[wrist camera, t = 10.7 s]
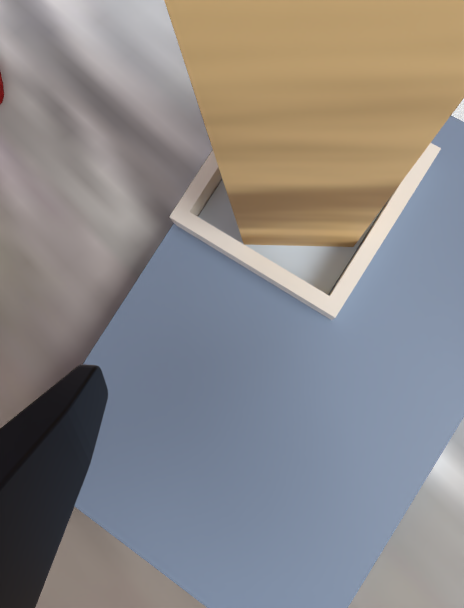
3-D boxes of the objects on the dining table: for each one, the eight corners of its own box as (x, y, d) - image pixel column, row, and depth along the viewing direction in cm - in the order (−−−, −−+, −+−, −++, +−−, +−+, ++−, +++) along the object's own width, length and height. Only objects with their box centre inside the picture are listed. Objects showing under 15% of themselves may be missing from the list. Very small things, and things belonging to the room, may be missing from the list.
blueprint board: (301, 661, 17) (305, 707, 15) (31, 457, 19) (0, 471, 17) (582, 200, 17) (626, 178, 15) (293, 52, 20) (295, 15, 17)
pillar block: (353, 246, 17) (576, -55, 4) (243, 244, 18) (154, -32, 5) (355, 141, 18) (563, -412, 5) (248, 142, 18) (178, -357, 5)
